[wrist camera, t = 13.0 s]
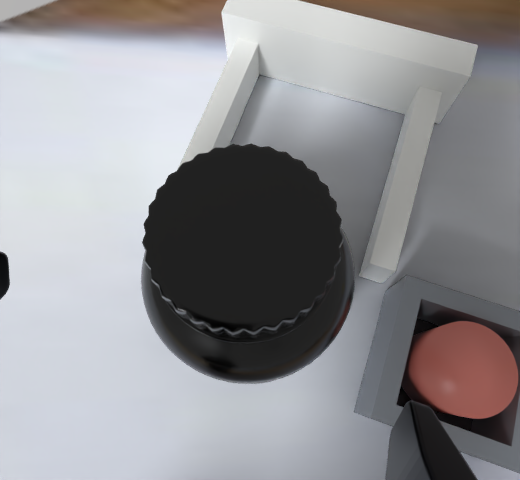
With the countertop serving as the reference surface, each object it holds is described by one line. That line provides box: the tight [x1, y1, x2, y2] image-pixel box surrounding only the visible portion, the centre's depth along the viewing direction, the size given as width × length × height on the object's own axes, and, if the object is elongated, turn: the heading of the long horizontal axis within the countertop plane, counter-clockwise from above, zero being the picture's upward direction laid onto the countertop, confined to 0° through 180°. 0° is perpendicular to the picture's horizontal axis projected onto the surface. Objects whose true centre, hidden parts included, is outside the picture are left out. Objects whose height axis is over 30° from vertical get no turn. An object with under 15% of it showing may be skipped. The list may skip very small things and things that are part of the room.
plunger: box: [401, 321, 518, 419], centre depth 18 cm, size 4×4×4 cm
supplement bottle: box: [141, 144, 355, 384], centre depth 16 cm, size 7×7×12 cm
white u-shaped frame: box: [178, 0, 478, 284], centre depth 22 cm, size 12×13×4 cm
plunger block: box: [354, 275, 520, 473], centre depth 18 cm, size 6×6×4 cm
